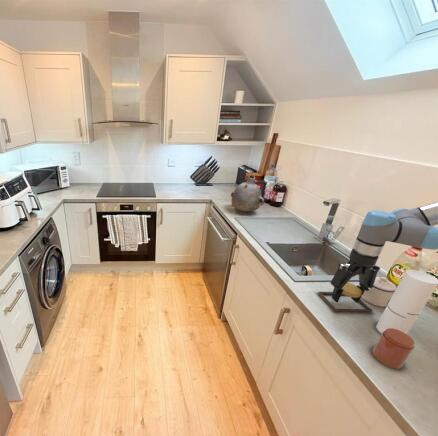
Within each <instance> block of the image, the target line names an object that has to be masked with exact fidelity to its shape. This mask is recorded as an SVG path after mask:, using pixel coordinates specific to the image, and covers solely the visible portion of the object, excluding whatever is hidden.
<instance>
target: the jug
mask: <svg viewBox="0 0 438 436" xmlns="http://www.w3.org/2000/svg"><path fill="white" fill-rule="evenodd" d="M255 176H256V175H254V174H250V175H248V177H247V179H246V180H247V181H246V182H244V183H243V182H241V183H240V184H238V185H237V186H236V188H235V189H234V191H232V192H231V194H230V197H231V206H232V207H233V208H234V209H236V210H240V211H242V212H243V213H244V212H250V211H251V212H252V211H257V210H259V208H261V207H260V206H263V205H264V203H265V198H262V195H261V190H260V188H259V186H258V185H256V184H255V180H256V177H255ZM261 200H262V203H261Z"/></svg>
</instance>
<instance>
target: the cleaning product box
mask: <svg viewBox="0 0 438 436" xmlns="http://www.w3.org/2000/svg"><path fill="white" fill-rule="evenodd" d="M247 180H248V179H243V180H242V183H244V182H246V181H247ZM267 183H268V182H267V181H266V180H263V179H255V184H256V185H258V186H259V188H260V190H261V195H262V198H263V199H265V198H264V197H265V193H266V188H267V185H268V184H267ZM261 203H262V200H261Z"/></svg>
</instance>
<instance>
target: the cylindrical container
mask: <svg viewBox="0 0 438 436" xmlns="http://www.w3.org/2000/svg"><path fill="white" fill-rule="evenodd" d="M437 287H438V278H437V277H435V276H434V275H432V274H430V273H427V272H424V271H421V270H417V269H406V270H405V271H404V273H403V274H402V277H401V278H400V281H399V283H398V284H397V286H396V290H395V292H394V294H393V296H392V298H391V299H390V301H389V303H388V305H387V306H385V309H384V311H383V312H382V314H381V316H380V318H379V320H378V322H377V323H376V326H375V327H376V329H377V331H378V332H379V333H380V334H382V333H383V332H384V331H385V330H386V329H389V328H392V329H397V330H399V331H402V332H404V333H405V334H407V335H408V334H409V332H410V330H411V328H412V327H413V326H414V324H415V322H416V320H418V317H419V315H420V314H421V312H422V311H423V310H424V308H425V306H426V305H427V303H428V301H429V299H430V298H431V296H432V295H433V293H434V292H435V290H436V288H437Z"/></svg>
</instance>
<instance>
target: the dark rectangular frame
mask: <svg viewBox="0 0 438 436" xmlns="http://www.w3.org/2000/svg"><path fill="white" fill-rule="evenodd" d="M317 295H318V296H319V297H320V298H321V299H322V300H323V302H325V304H326V305H327V306H328V307H329V308H330V309H331V310H332V311H333V313H365V314H366V313H367V314H372V313H373V309H372V308H371V307H370V306H369V305H367V304H366V303H365V302H364V301H363V300H361V299H360V300H359V302H358V304H360V305H361V306H362V307H363V308H336V307H335V306H334V305H333V304H332V303H331V302H330V300H329V299H327V298H326V297H325V296H332V295H333V291H318V292H317ZM341 296H345V295H344V294H341Z"/></svg>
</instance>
